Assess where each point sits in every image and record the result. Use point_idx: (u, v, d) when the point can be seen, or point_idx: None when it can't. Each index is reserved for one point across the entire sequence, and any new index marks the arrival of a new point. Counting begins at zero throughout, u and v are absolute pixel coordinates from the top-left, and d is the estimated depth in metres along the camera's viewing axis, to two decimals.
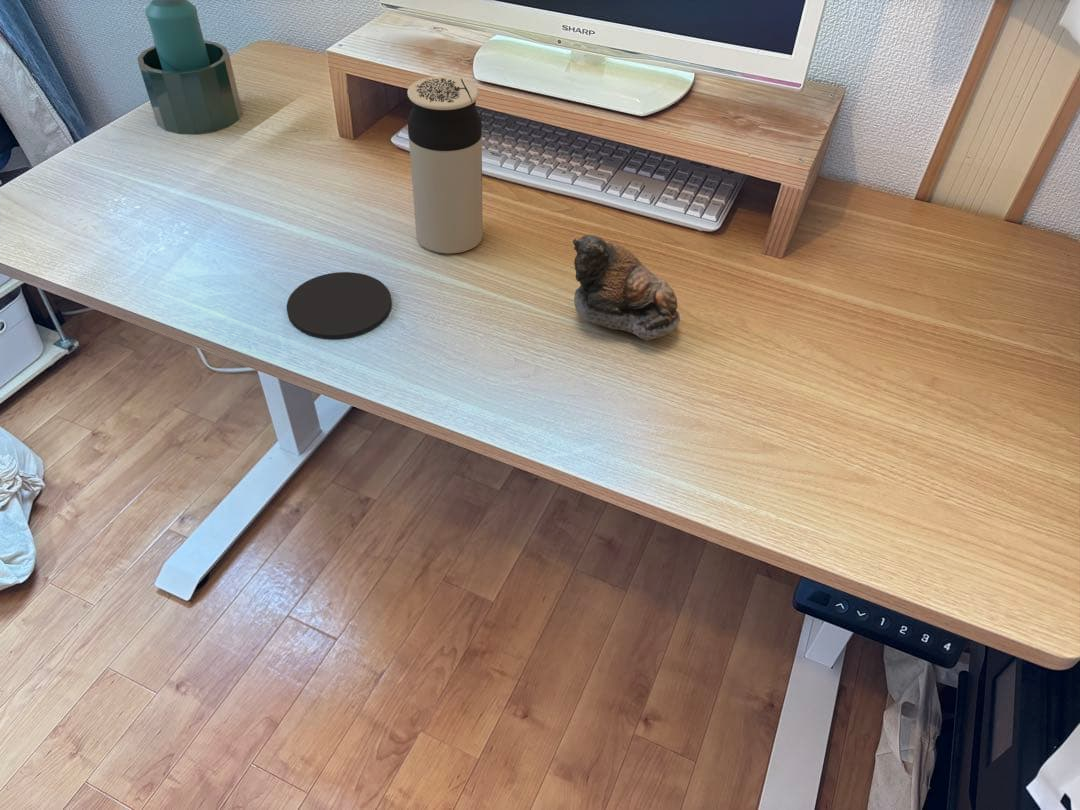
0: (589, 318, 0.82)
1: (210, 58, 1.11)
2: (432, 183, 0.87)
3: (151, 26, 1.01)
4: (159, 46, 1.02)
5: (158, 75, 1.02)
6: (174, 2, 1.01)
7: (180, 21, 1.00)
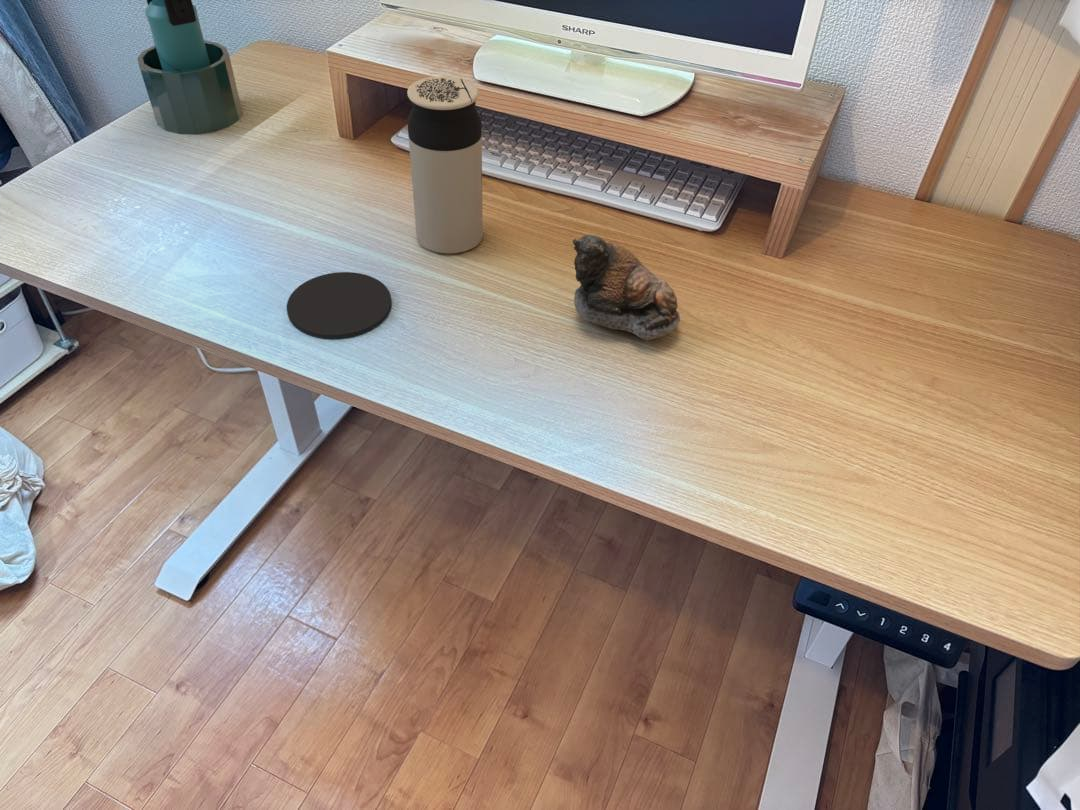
0: (589, 318, 0.82)
1: (210, 58, 1.11)
2: (431, 183, 0.87)
3: (151, 26, 1.01)
4: (159, 46, 1.03)
5: (158, 75, 1.02)
6: None
7: None
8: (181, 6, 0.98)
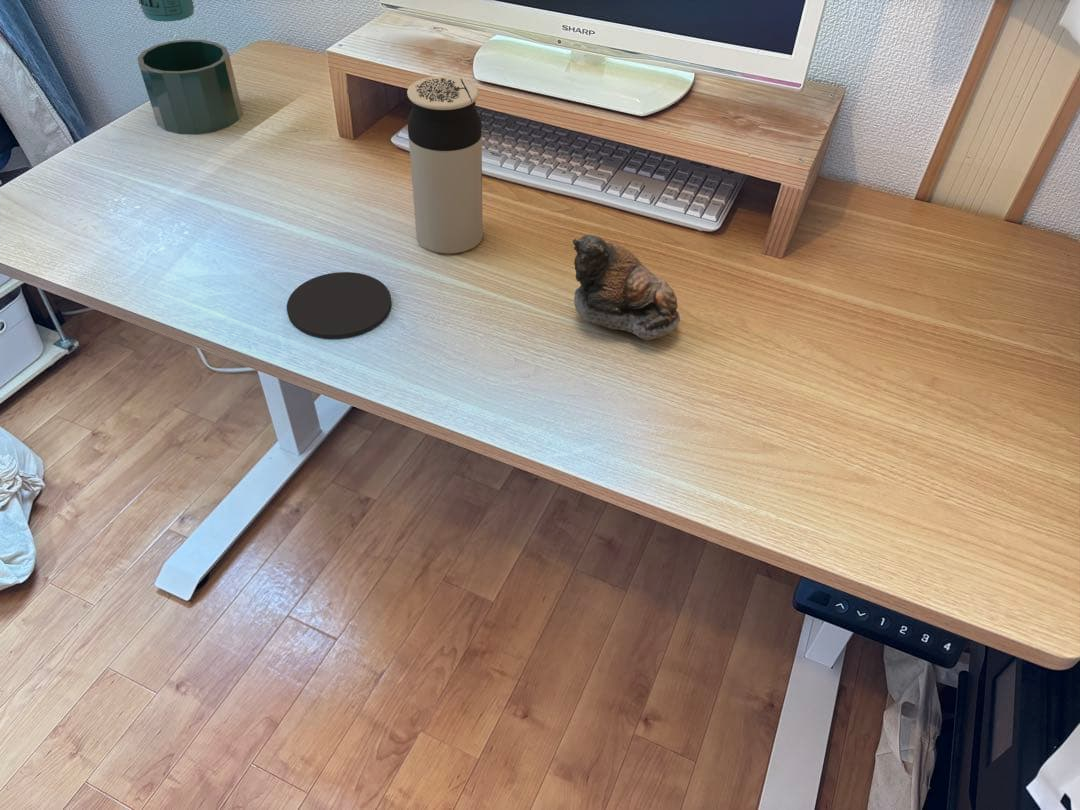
0: (589, 318, 0.82)
1: (210, 58, 1.11)
2: (431, 183, 0.87)
3: None
4: None
5: (158, 75, 1.02)
6: None
7: None
8: None
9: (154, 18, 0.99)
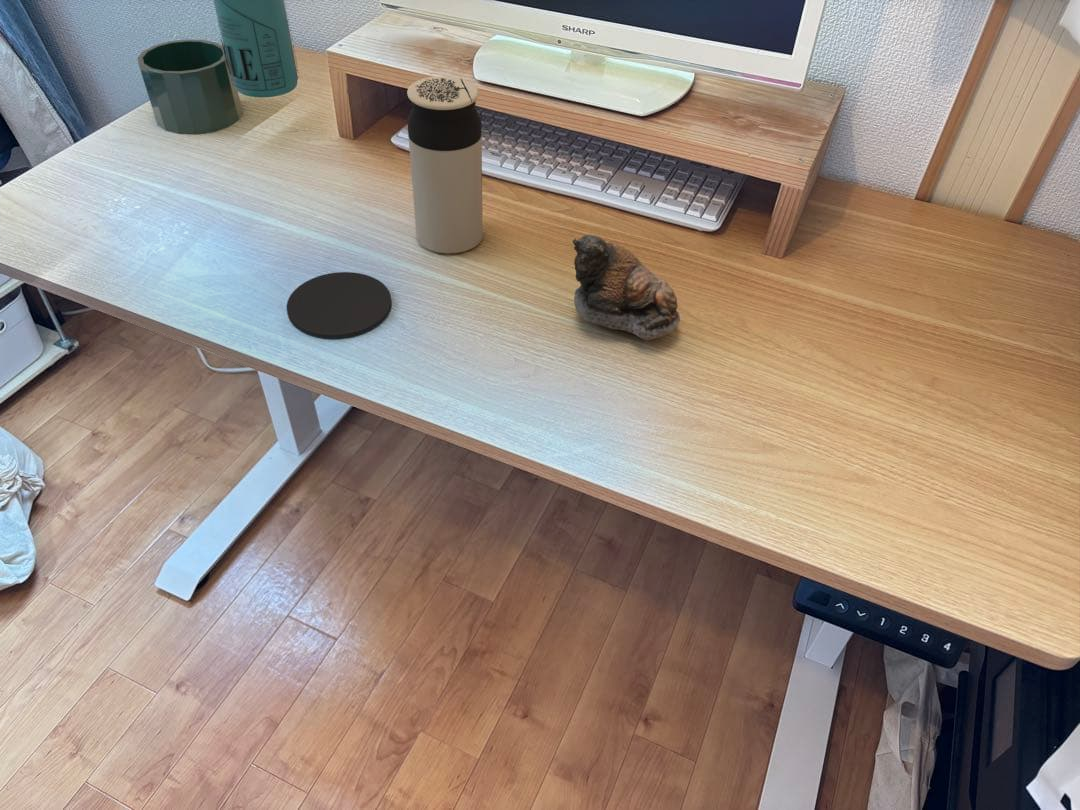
0: (589, 318, 0.82)
1: (210, 58, 1.11)
2: (431, 183, 0.87)
3: None
4: None
5: (158, 75, 1.02)
6: None
7: None
8: None
9: (250, 93, 0.75)
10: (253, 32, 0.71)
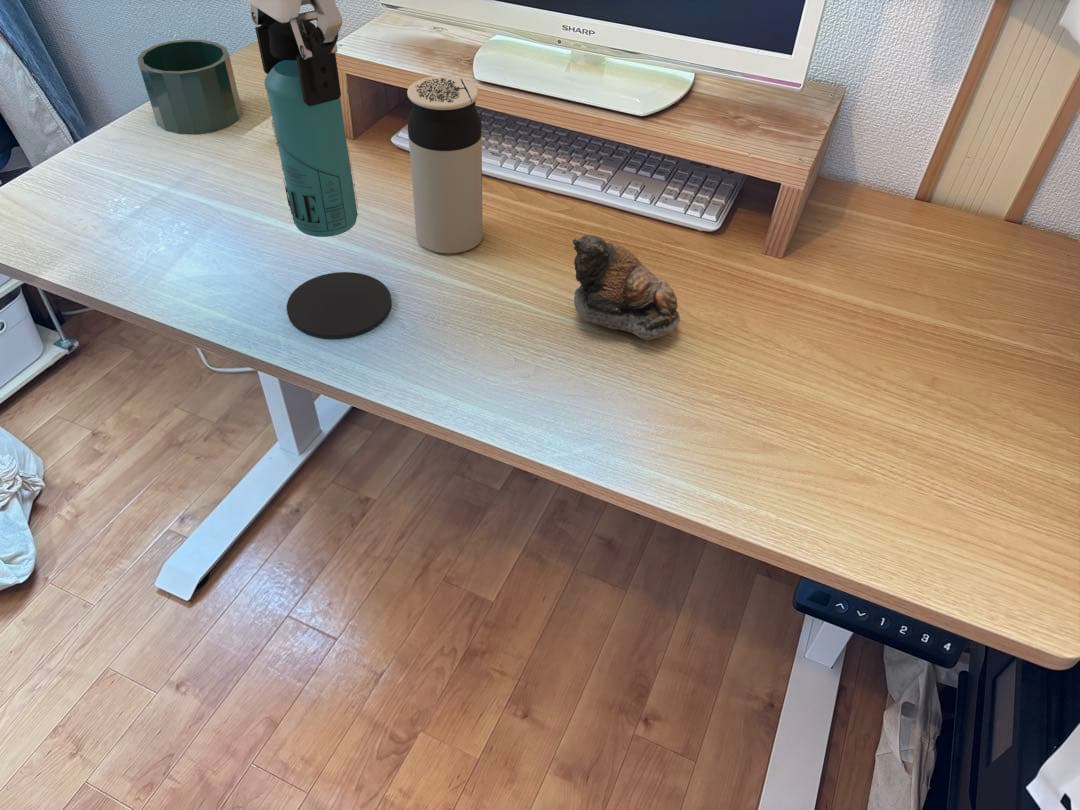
0: (589, 318, 0.82)
1: (210, 58, 1.11)
2: (431, 183, 0.87)
3: (273, 104, 0.68)
4: (283, 132, 0.69)
5: (158, 75, 1.02)
6: None
7: None
8: (324, 78, 0.64)
9: (311, 233, 0.76)
10: (317, 180, 0.72)
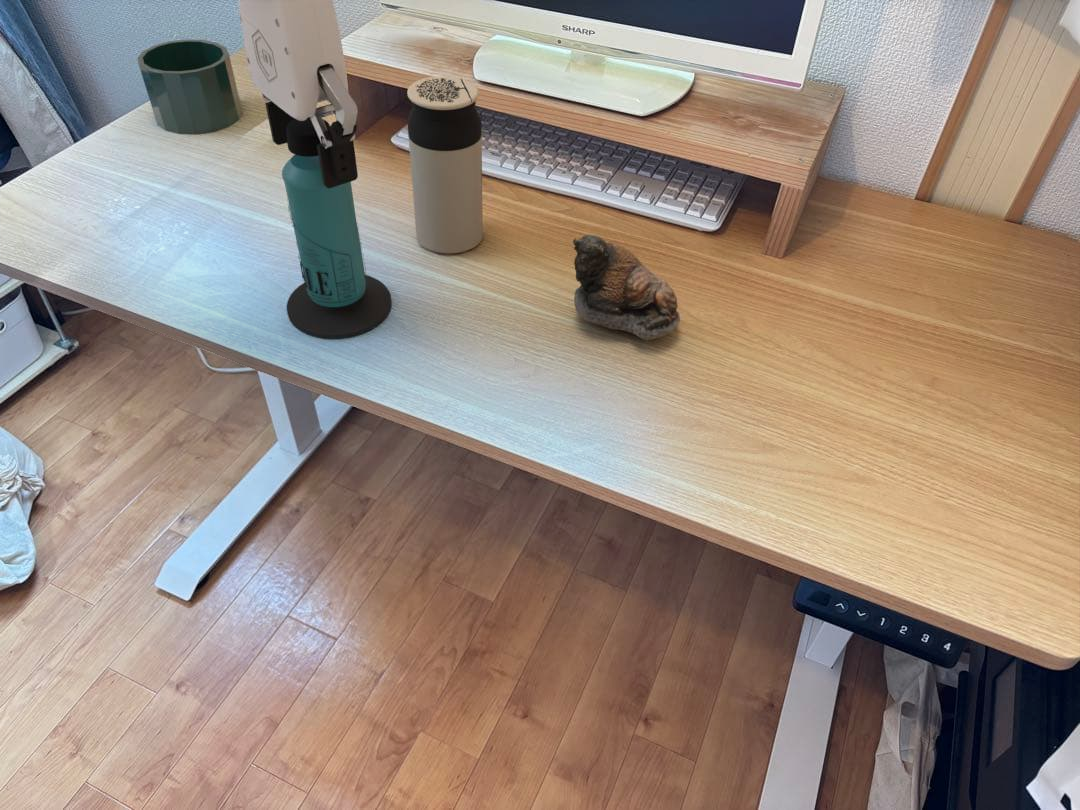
0: (589, 318, 0.82)
1: (210, 58, 1.11)
2: (431, 183, 0.87)
3: (290, 193, 0.73)
4: (299, 217, 0.75)
5: (158, 75, 1.02)
6: None
7: (331, 188, 0.73)
8: (342, 163, 0.69)
9: (323, 304, 0.82)
10: (330, 259, 0.78)
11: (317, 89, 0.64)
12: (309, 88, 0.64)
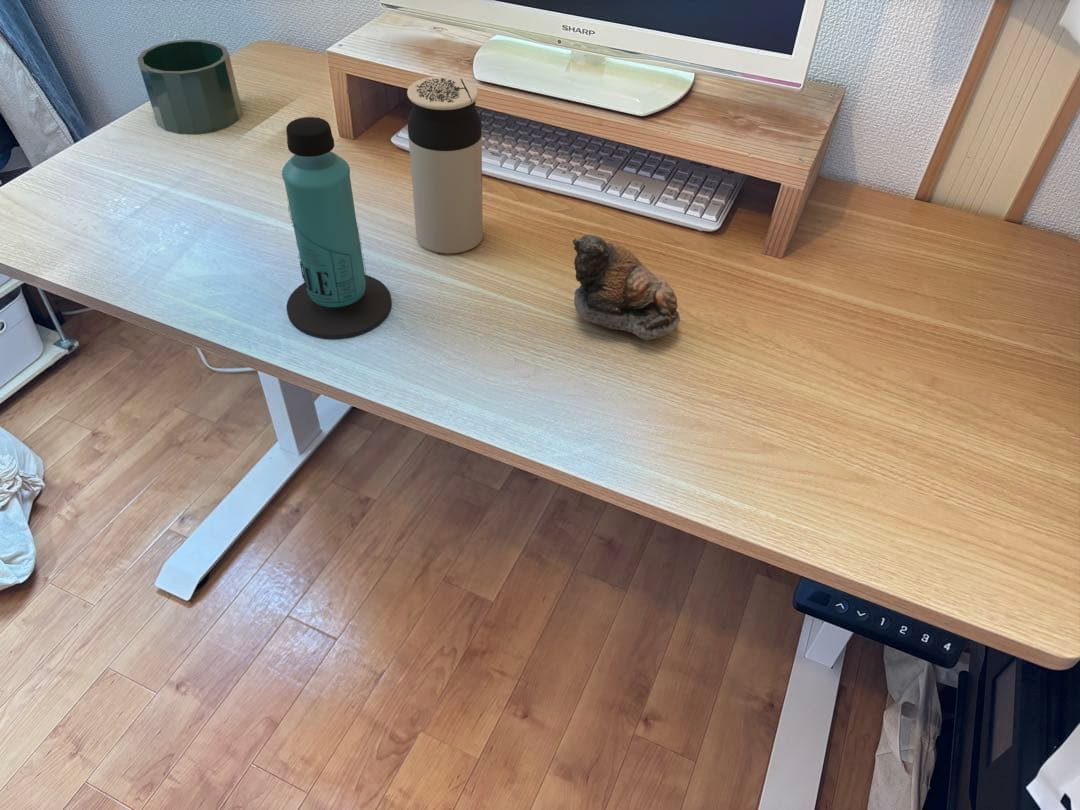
0: (589, 318, 0.82)
1: (210, 58, 1.11)
2: (431, 183, 0.87)
3: (290, 193, 0.73)
4: (299, 217, 0.75)
5: (158, 75, 1.02)
6: (322, 161, 0.73)
7: (331, 188, 0.73)
8: None
9: (323, 304, 0.82)
10: (330, 259, 0.78)
11: None
12: None
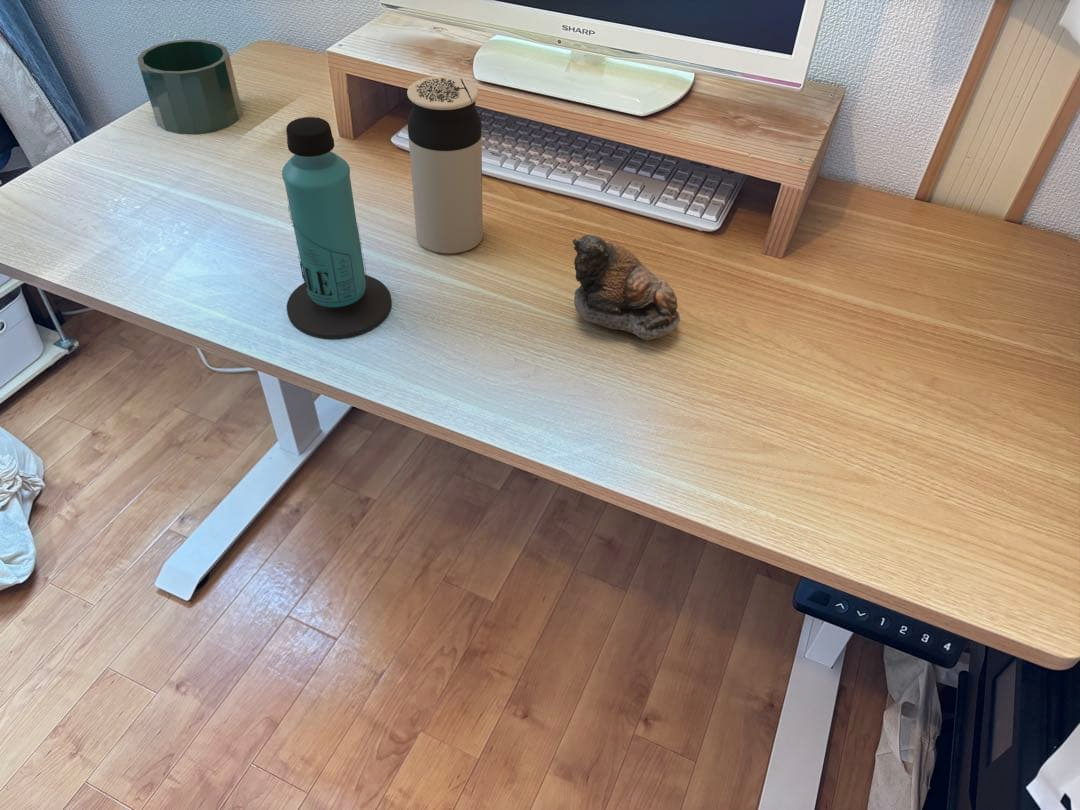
0: (589, 318, 0.82)
1: (210, 58, 1.11)
2: (431, 183, 0.87)
3: (290, 193, 0.73)
4: (299, 217, 0.75)
5: (158, 75, 1.02)
6: (322, 161, 0.73)
7: (331, 188, 0.73)
8: None
9: (323, 304, 0.82)
10: (330, 259, 0.78)
11: None
12: None
